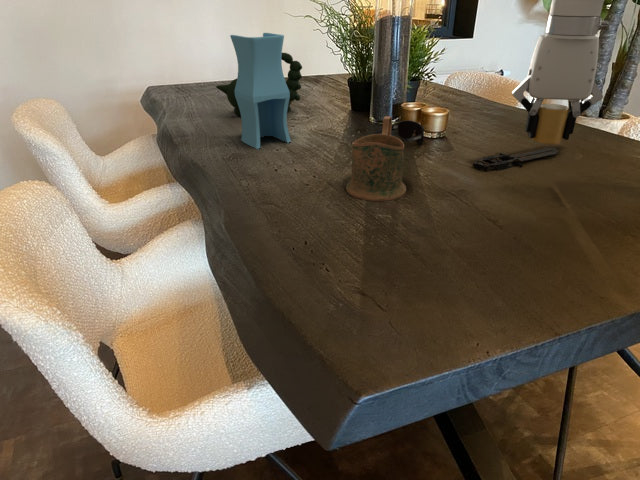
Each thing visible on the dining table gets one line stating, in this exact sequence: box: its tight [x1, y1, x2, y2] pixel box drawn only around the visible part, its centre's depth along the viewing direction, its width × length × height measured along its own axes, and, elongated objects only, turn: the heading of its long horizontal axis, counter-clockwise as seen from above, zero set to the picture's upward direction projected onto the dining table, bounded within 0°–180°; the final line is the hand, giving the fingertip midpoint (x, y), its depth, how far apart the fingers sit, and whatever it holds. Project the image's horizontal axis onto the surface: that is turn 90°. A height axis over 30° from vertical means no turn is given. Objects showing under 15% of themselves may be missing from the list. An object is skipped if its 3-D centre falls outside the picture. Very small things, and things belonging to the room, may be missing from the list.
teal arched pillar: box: [229, 32, 292, 150], centre depth 119 cm, size 10×10×25 cm
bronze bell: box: [345, 115, 407, 202], centre depth 95 cm, size 12×18×12 cm, turn 163°
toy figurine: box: [215, 52, 303, 117], centre depth 145 cm, size 9×19×25 cm
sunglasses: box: [373, 119, 425, 146], centre depth 120 cm, size 10×12×5 cm
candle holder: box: [531, 103, 569, 145], centre depth 87 cm, size 5×5×6 cm
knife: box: [472, 147, 560, 172], centre depth 109 cm, size 25×6×1 cm, turn 112°
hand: (547, 135), depth 88 cm, fingers closed on candle holder, 5 cm apart
